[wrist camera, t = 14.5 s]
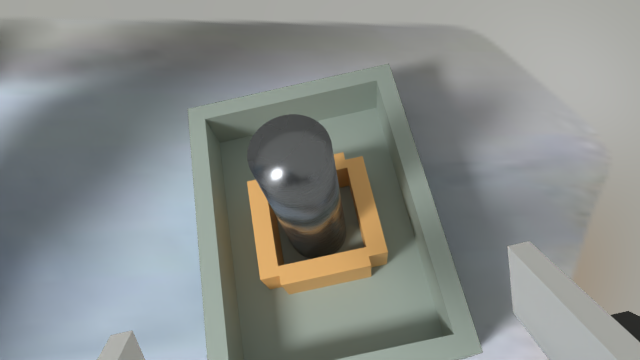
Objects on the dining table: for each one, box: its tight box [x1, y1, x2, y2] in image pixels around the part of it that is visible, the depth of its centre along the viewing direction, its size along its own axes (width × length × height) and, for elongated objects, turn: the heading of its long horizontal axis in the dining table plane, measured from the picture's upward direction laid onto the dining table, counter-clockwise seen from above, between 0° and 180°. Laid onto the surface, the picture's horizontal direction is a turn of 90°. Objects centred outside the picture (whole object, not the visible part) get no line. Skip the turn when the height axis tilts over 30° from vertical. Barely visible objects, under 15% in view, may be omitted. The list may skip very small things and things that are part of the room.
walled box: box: [188, 64, 483, 360], centre depth 31 cm, size 15×20×4 cm
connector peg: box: [247, 114, 346, 259], centre depth 27 cm, size 4×4×12 cm
